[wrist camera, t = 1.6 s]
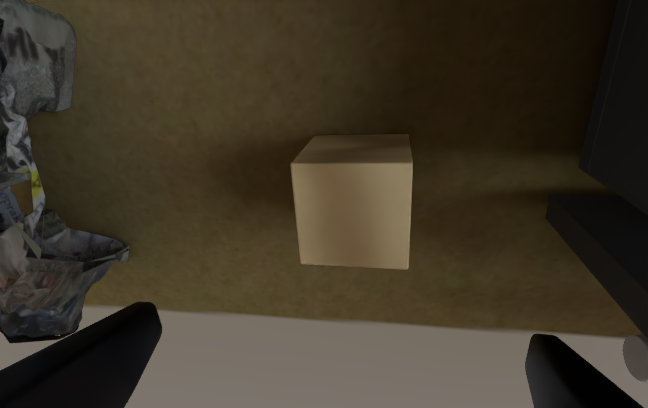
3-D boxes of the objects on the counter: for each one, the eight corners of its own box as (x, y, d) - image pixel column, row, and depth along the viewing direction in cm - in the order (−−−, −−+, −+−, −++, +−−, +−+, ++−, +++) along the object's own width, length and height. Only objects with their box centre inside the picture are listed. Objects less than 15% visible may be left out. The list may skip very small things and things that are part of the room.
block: (408, 133, 17) (413, 162, 13) (405, 220, 18) (408, 270, 14) (314, 134, 17) (289, 163, 13) (320, 217, 19) (299, 264, 15)
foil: (147, 31, 14) (-74, 414, 12) (207, 119, 24) (95, 326, 22) (-161, -126, 13) (-447, 263, 11) (42, 37, 23) (-87, 246, 22)
